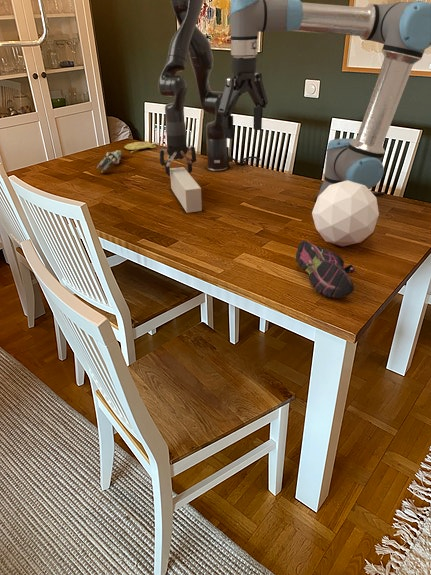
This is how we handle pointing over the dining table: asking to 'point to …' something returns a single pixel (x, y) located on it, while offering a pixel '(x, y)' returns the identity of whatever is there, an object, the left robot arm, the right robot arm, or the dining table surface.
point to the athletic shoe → (325, 270)
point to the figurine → (110, 160)
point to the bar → (186, 189)
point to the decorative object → (139, 146)
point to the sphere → (345, 213)
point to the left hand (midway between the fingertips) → (179, 173)
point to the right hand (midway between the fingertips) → (243, 133)
